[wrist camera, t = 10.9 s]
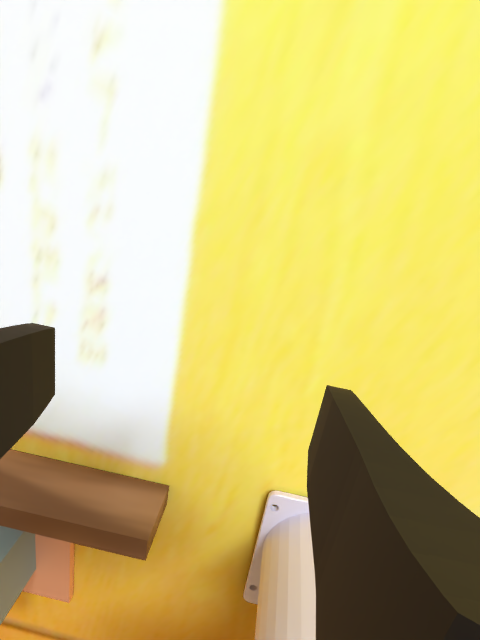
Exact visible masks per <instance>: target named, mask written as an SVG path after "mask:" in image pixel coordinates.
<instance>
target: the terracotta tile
mask: <svg viewBox="0 0 480 640" xmlns="http://www.w3.org/2000/svg"><path fill="white" fill-rule="evenodd" d="M35 546H36V570H35V571H34V573H33V575H32V576H31V578H30V579H29V581H28V582H27V584H26V586H25V587H24V589H23V590H22V591H24V592H28V593H32V594H36V595H40V596H44V597H48V598H52V599H56V600H60V601H64V602H68V603H69V602H70V600H71V598H72V596H73V586H74V543H70V542H66V541H62V540H58V539H54V538H50V537H45V536H41V535H37V534H35Z"/></svg>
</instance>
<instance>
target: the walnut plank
mask: <svg viewBox="0 0 480 640" xmlns="http://www.w3.org/2000/svg"><path fill="white" fill-rule="evenodd" d="M168 491H169V486H168V485H163V484H159V483H155V482H150V481H146V480H141V479H137V478H133V477H128V476H124V475H120V474H115V473H111V472H107V471H102V470H98V469H94V468H89V467H85V466H80V465H76V464H72V463H67V462H63V461H59V460H54V459H50V458H46V457H41V456H37V455H33V454H28V453H24V452H19V451H15V450H11V449H10V450H9V451H8V452H7V453H6V454H5V455H4V456H3V457H2V458H1V459H0V526H4V527H8V528H12V529H16V530H21V531H25V532H29V533H33V534H37V535H41V536H45V537H50V538H54V539H58V540H62V541H66V542H70V543H75V544H79V545H83V546H87V547H91V548H95V549H99V550H104V551H108V552H112V553H116V554H120V555H124V556H129V557H133V558H137V559H141V560H146V558H147V555H148V552H149V550H150V547H151V544H152V542H153V539H154V536H155V534H156V531H157V528H158V526H159V523H160V521H161V518H162V515H163V513H164V510H165V507H166V505H167V498H168Z"/></svg>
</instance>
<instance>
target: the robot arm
mask: <svg viewBox="0 0 480 640" xmlns="http://www.w3.org/2000/svg"><path fill="white" fill-rule="evenodd" d="M54 395H55V328H53V327H48V326H44V325H39V324H34V323H30V324H21V325H15V326H10V327H5V328H0V459H1V458H2V457H3V456H4V455H5V454H6V453H7V452H8V451H9V450H10V449H11V448H12V446H13V445H14V444H15V443H16V442H17V441H18V440H19V439H20V438H21V437H22V436H23V435H24V434H25V433H26V432H27V431H28V430H29V429H30V427H31V426H32V425H33V424H34V423H35V422H36V420H37V419H38V418H39V416H40V415H41V414H42V412H43V411H44V409H45V408H46V407H47V405H48V404H49V402H50V401H51V399H52V398H53V396H54ZM307 492H308V497H303V496H299V495H294V494H290V493H285V492H281V491H271V492H270V493H269V495H268V498H267V502H266V506H265V509H264V513H263V517H262V521H261V525H260V529H259V533H258V537H257V541H256V545H255V549H254V553H253V557H252V561H251V565H250V569H249V573H248V577H247V581H246V585H245V589H244V594H243V598H244V599H245V600H246V601H247V602H249V603H254V604H258V606H257V617H256V629H255V640H480V518H479V517H478V516H476V515H475V514H474V513H473V512H471V511H470V510H469V509H468V508H466V507H465V506H464V505H463V504H461V503H460V502H459V501H458V500H457V499H455V498H454V497H453V496H452V495H451V494H450V493H449V492H447V491H446V490H445V489H444V488H443V487H442V486H440V485H439V484H438V483H437V482H436V481H435V480H434V479H433V478H431V477H430V476H429V475H428V474H427V473H426V472H425V471H424V470H423V469H422V468H421V467H420V466H419V465H418V464H417V463H416V462H415V461H414V460H413V459H412V458H411V457H410V456H409V455H408V454H407V453H406V452H405V451H404V450H403V449H402V448H401V447H400V446H399V445H398V443H397V442H396V441H395V440H394V439H393V438H392V437H391V436H390V435H389V434H388V432H387V431H386V430H385V429H384V428H383V427H382V426H381V424H380V423H379V422H378V421H377V420H376V419H375V417H374V416H373V415H372V414H371V413H370V411H369V410H368V409H367V408H366V407H365V406H364V404H363V403H362V402H361V401H360V400H359V398H358V397H357V396H356V395H355V394H354V393H353V392H352V391H351V390H347V389H342V388H337V387H333V386H328V385H327V387H326V390H325V394H324V397H323V401H322V404H321V408H320V411H319V415H318V418H317V422H316V425H315V429H314V432H313V436H312V439H311V443H310V446H309V450H308V469H307ZM272 505H277V506H272Z"/></svg>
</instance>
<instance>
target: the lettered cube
mask: <svg viewBox="0 0 480 640" xmlns="http://www.w3.org/2000/svg"><path fill="white" fill-rule="evenodd" d="M35 570H36V546H35V534H33V533H29V532H25V531H21V530H16V529H12V528H8V527H4V526H0V625H1V623H2V622H3V620H4V619H5V617H6V615H7V614H8V612H9V611H10V609H11V608H12V606H13V604H14V603H15V601H16V600H17V598H18V597H19V595H20V593H21V592H22V590H23V589H24V587H25V586H26V584H27V582H28V581H29V579H30V578H31V576H32V575H33V573H34V571H35Z"/></svg>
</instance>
